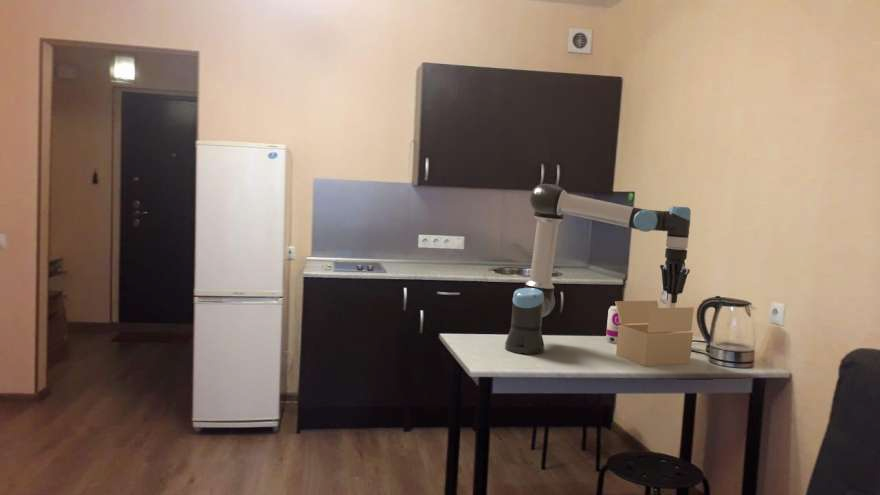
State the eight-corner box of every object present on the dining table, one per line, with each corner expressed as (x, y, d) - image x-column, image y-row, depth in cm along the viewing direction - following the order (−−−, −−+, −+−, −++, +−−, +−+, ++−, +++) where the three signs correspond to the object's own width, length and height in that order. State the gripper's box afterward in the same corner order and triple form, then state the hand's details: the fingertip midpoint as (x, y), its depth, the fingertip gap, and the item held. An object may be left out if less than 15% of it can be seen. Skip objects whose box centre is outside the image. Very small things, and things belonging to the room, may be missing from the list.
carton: (644, 366, 234) (647, 334, 233) (616, 355, 249) (618, 324, 248) (689, 363, 243) (692, 332, 242) (660, 352, 258) (662, 323, 257)
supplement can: (626, 345, 268) (629, 310, 266) (606, 343, 269) (609, 308, 268) (624, 341, 276) (627, 306, 274) (605, 339, 277) (608, 305, 276)
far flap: (615, 301, 251) (615, 301, 251) (621, 323, 248) (620, 323, 248) (656, 300, 259) (656, 301, 260) (662, 322, 256) (661, 322, 256)
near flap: (647, 332, 234) (648, 332, 234) (649, 308, 233) (650, 308, 233) (690, 330, 242) (691, 330, 242) (692, 307, 242) (693, 307, 241)
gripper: (697, 250, 232) (691, 314, 234) (671, 246, 243) (665, 307, 246) (681, 250, 229) (675, 315, 231) (656, 246, 240) (650, 308, 243)
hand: (670, 311), depth 238 cm, fingers closed
